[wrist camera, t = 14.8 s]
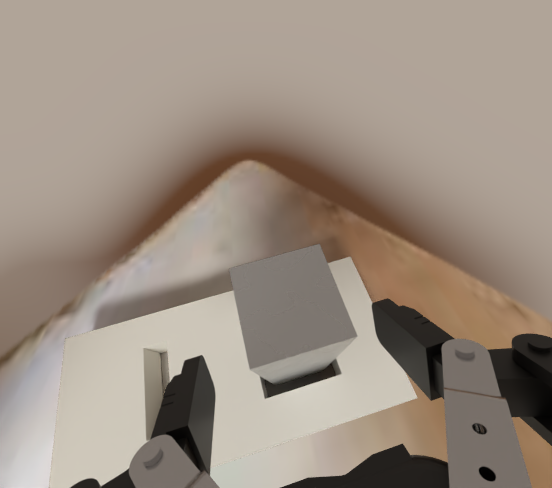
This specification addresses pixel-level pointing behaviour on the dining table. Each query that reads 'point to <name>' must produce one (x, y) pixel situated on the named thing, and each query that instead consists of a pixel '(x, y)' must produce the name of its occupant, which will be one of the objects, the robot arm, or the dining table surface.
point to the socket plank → (225, 375)
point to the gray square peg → (291, 314)
